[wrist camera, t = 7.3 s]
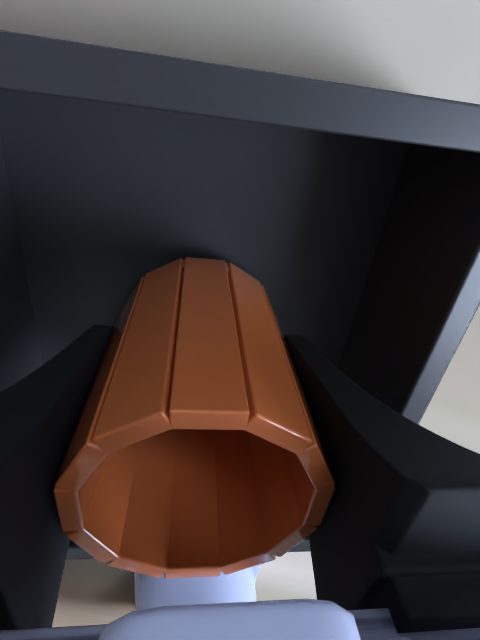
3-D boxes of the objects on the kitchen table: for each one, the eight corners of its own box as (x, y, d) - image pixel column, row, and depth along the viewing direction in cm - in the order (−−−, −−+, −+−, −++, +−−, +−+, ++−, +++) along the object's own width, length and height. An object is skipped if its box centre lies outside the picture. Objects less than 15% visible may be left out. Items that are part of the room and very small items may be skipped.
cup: (262, 387, 15) (302, 573, 9) (126, 383, 14) (72, 583, 8) (286, 264, 12) (365, 415, 6) (119, 251, 12) (32, 408, 6)
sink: (320, 449, 19) (355, 550, 15) (48, 447, 17) (-4, 563, 13) (433, 113, 11) (576, 119, 7) (-38, 43, 10) (-237, -7, 5)
